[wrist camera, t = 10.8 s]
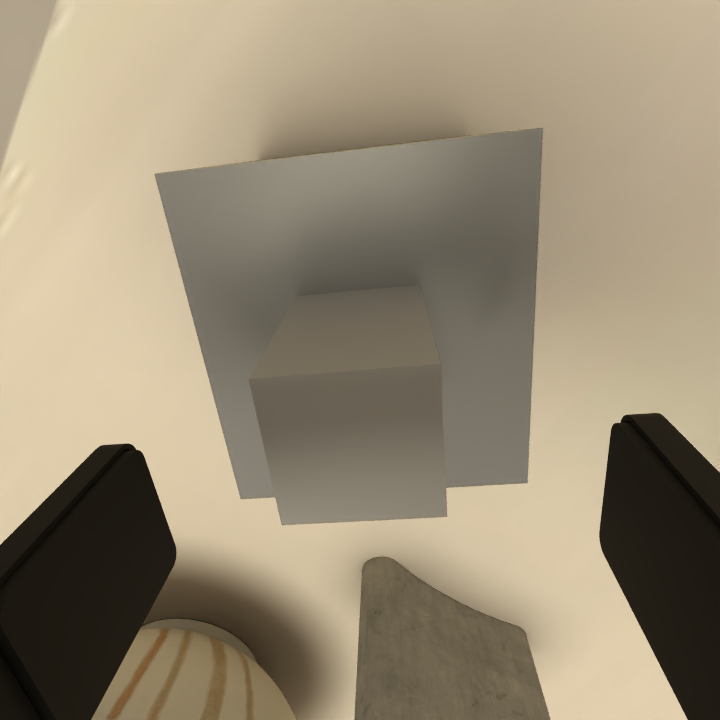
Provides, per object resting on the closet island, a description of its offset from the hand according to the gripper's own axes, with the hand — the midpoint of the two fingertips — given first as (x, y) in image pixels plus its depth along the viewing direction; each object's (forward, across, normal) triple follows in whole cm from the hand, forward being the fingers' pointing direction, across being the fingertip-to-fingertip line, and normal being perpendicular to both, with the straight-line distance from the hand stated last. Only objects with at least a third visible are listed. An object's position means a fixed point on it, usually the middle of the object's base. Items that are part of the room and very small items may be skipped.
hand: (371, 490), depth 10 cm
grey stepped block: (+20, +1, 0) cm, 20 cm away
